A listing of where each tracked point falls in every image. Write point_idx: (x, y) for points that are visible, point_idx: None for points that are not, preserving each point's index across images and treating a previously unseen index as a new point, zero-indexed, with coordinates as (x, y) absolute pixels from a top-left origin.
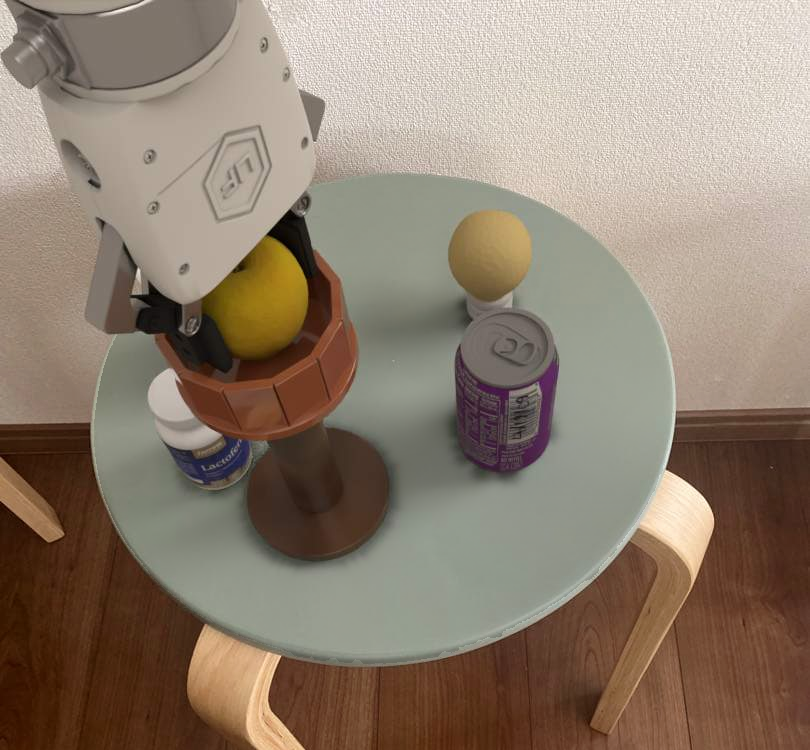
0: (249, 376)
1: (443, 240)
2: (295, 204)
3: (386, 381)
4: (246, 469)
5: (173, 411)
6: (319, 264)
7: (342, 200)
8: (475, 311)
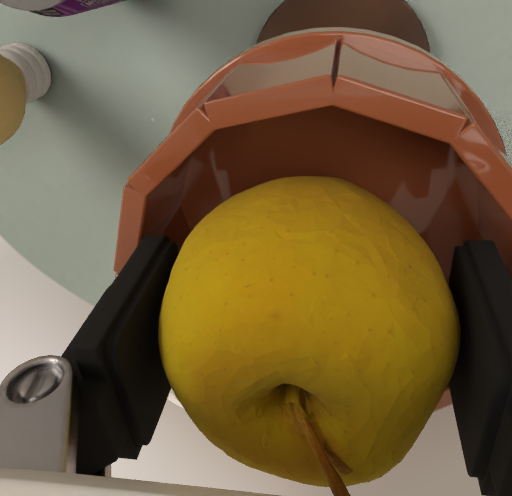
0: None
1: (15, 169)
2: (46, 408)
3: (176, 109)
4: None
5: None
6: (132, 242)
7: (65, 274)
8: (40, 76)
